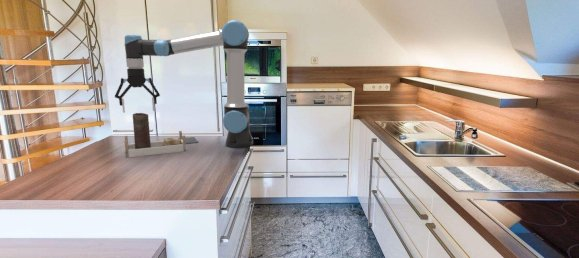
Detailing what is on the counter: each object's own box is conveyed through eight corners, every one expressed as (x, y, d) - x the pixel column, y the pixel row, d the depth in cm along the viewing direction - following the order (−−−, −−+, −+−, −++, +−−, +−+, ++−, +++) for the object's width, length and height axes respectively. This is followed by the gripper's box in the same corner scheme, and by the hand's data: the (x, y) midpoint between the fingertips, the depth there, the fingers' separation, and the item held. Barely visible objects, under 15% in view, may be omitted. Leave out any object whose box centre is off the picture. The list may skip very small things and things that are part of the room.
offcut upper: (175, 142, 178) (175, 137, 177) (179, 145, 172) (179, 139, 172) (163, 144, 174) (163, 138, 174) (167, 146, 169) (167, 141, 168)
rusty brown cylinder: (146, 149, 173) (143, 112, 169) (154, 151, 169) (151, 113, 165) (132, 152, 167) (128, 114, 163) (140, 155, 163) (136, 115, 159)
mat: (194, 137, 200) (193, 136, 200) (198, 142, 187) (198, 142, 187) (169, 139, 194) (169, 139, 194) (172, 145, 181) (172, 144, 181)
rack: (182, 145, 182) (181, 130, 180) (186, 150, 171) (185, 135, 169) (126, 150, 170) (124, 135, 169) (126, 157, 159) (124, 141, 157)
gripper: (162, 67, 168) (165, 108, 172) (106, 67, 157) (111, 111, 161) (163, 68, 161) (166, 111, 165) (105, 68, 150) (110, 114, 155)
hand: (139, 111), depth 163 cm, fingers open, 13 cm apart
